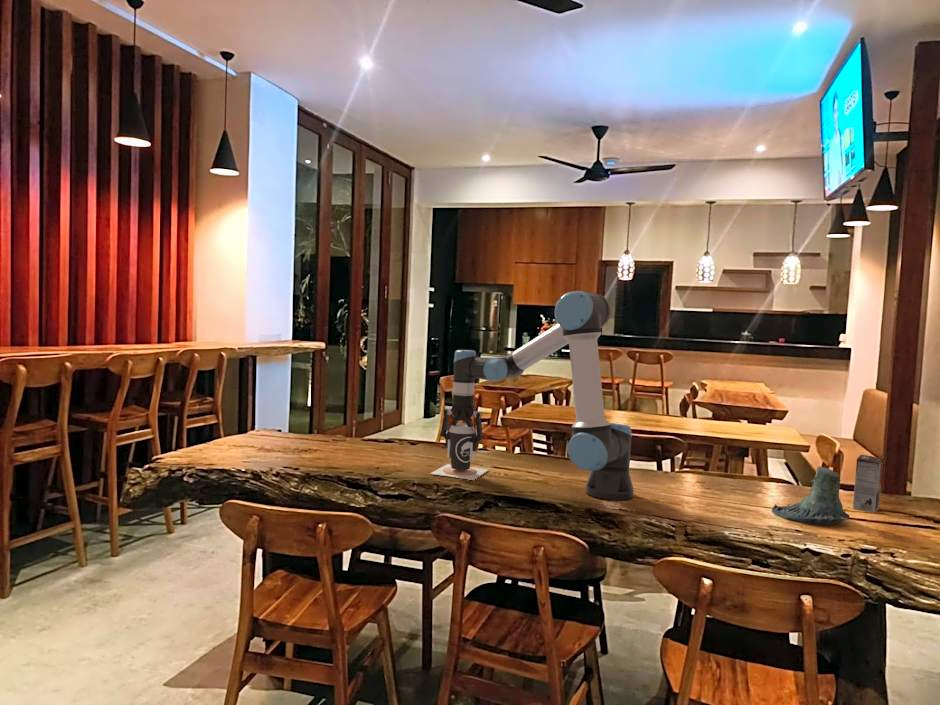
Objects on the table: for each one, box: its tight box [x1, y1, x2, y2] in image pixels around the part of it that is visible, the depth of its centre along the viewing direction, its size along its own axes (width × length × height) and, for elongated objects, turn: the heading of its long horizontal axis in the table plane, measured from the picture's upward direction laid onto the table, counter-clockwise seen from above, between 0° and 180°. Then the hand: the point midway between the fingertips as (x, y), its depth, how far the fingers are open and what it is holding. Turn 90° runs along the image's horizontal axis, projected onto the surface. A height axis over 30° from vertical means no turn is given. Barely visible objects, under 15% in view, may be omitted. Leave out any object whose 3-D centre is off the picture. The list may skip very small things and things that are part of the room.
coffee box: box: [852, 454, 884, 514], centre depth 201 cm, size 9×6×16 cm
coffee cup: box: [448, 423, 477, 470], centre depth 223 cm, size 10×10×15 cm
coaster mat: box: [429, 463, 490, 482], centre depth 223 cm, size 16×16×1 cm
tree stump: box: [771, 466, 851, 527], centre depth 188 cm, size 18×20×18 cm
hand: (460, 458), depth 223 cm, fingers closed on coffee cup, 8 cm apart
